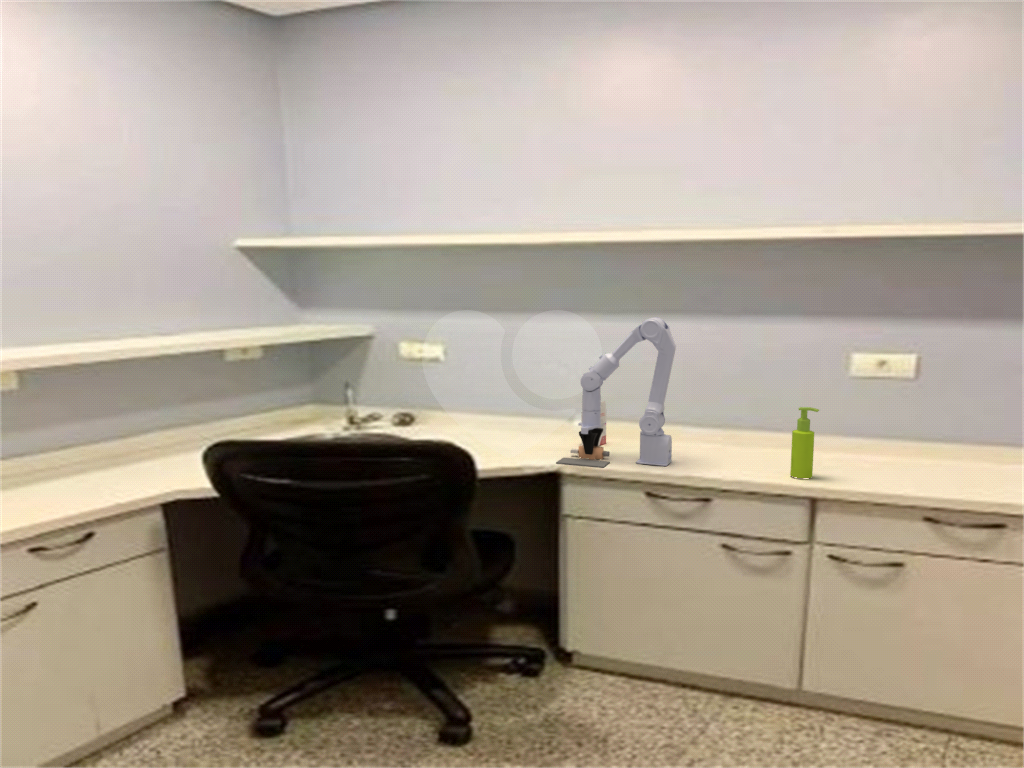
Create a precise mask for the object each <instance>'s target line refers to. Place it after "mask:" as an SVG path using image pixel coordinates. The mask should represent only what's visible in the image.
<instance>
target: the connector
mask: <svg viewBox="0 0 1024 768" xmlns="http://www.w3.org/2000/svg"><path fill="white" fill-rule="evenodd" d="M569 451H570V454H577V455H578V456H579V457H581V458H580V459H582V458H589V459H588V460H593V459H601V460H603V459H604V457H610V455H611V453H610V451H609V450H608V451H606V450H604V447H603V446H601V445H599V446H594V448H593V453H592V455H590V454H585V451H584V446H583V445H582V444H581V445H579V446H578V448H571V449H570V450H569ZM579 457H578V458H579Z"/></svg>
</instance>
